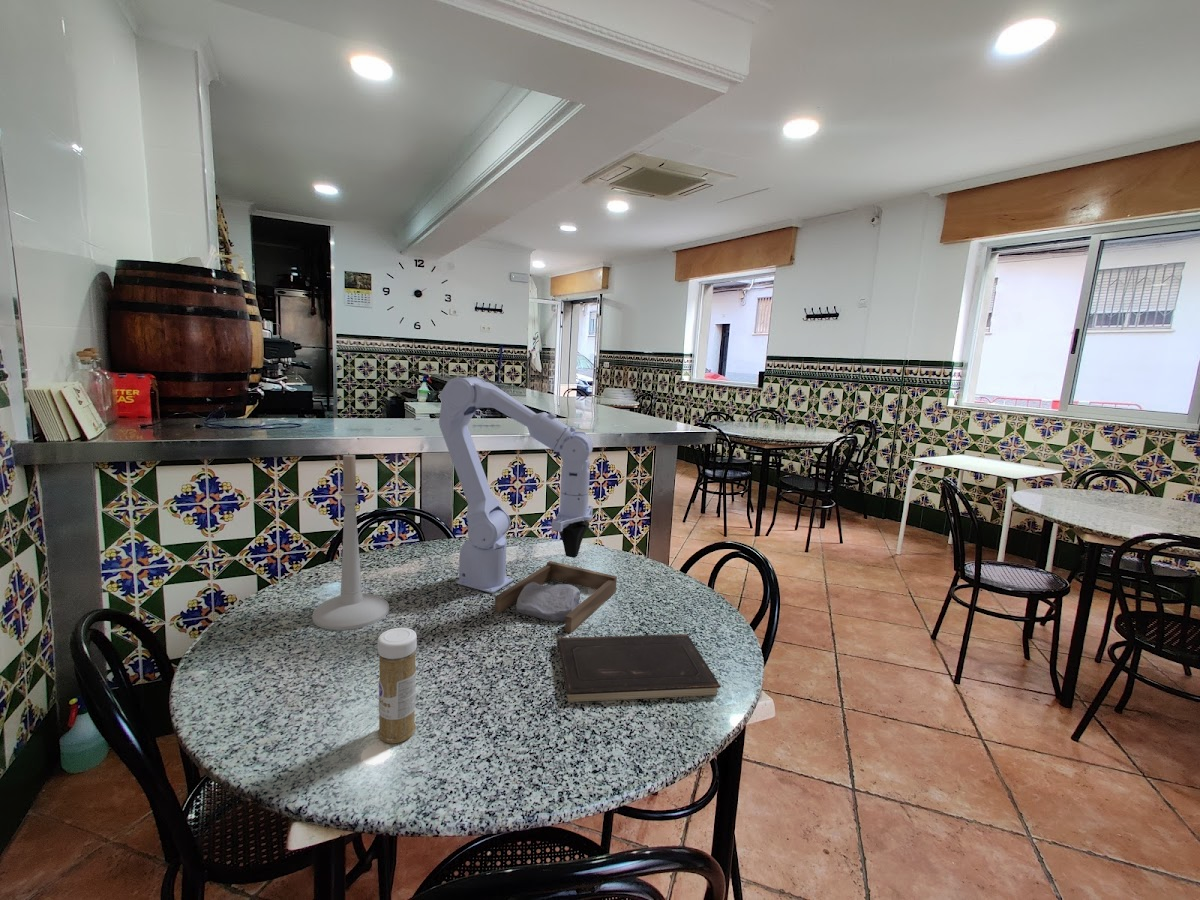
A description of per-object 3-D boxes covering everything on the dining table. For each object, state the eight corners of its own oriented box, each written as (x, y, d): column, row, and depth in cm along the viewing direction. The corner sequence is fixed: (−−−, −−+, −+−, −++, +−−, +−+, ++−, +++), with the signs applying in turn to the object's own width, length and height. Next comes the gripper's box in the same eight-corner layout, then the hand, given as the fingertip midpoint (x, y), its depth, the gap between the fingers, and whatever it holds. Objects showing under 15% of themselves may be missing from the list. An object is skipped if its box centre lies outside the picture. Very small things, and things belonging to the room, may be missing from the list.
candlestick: (388, 625, 96) (387, 459, 91) (307, 634, 92) (301, 459, 87) (389, 595, 108) (389, 446, 103) (317, 601, 103) (313, 446, 99)
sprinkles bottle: (371, 733, 69) (370, 634, 67) (404, 716, 72) (404, 622, 70) (390, 750, 66) (389, 648, 64) (423, 732, 69) (424, 635, 67)
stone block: (574, 633, 101) (581, 600, 110) (573, 611, 100) (581, 580, 109) (511, 628, 102) (524, 596, 112) (510, 607, 101) (523, 576, 110)
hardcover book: (719, 699, 81) (720, 685, 81) (566, 707, 77) (567, 692, 77) (685, 644, 97) (686, 632, 96) (556, 648, 93) (557, 636, 92)
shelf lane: (494, 611, 104) (495, 594, 103) (548, 575, 122) (549, 560, 122) (570, 633, 97) (571, 615, 96) (615, 591, 116) (616, 576, 115)
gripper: (575, 502, 102) (572, 571, 104) (607, 488, 115) (603, 549, 117) (543, 497, 105) (540, 563, 107) (577, 483, 118) (574, 543, 120)
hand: (571, 556), depth 112 cm, fingers closed
